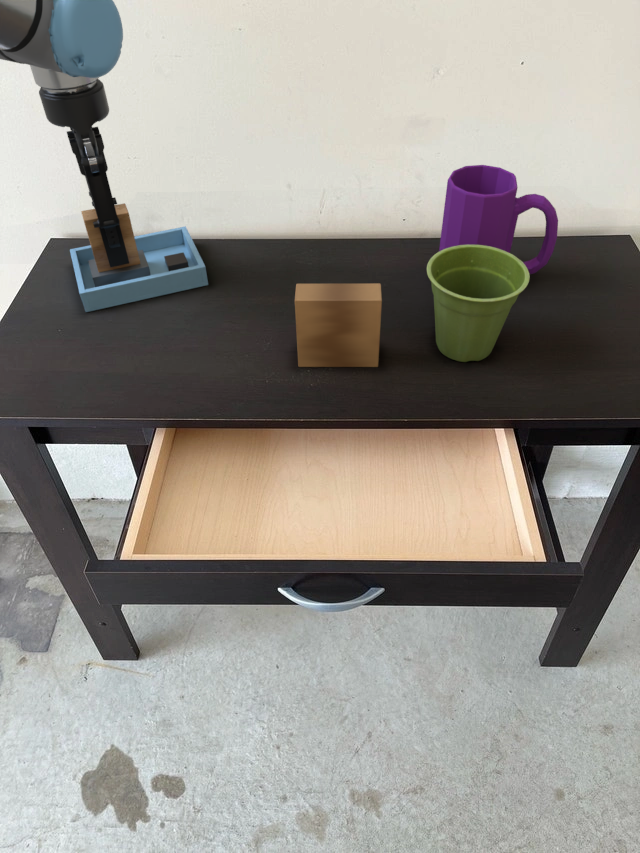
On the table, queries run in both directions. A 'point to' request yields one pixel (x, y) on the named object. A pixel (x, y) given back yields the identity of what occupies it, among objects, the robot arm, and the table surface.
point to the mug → (492, 212)
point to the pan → (147, 286)
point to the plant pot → (473, 297)
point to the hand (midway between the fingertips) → (117, 257)
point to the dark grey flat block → (176, 261)
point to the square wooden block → (338, 324)
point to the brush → (100, 264)
